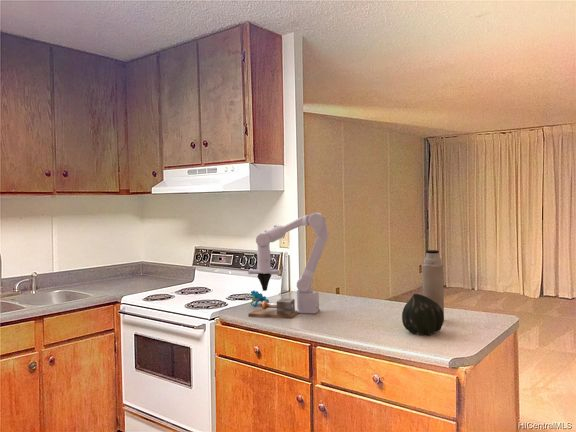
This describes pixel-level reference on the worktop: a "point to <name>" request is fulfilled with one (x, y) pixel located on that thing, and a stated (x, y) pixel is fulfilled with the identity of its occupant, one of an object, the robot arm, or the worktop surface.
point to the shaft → (269, 305)
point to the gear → (258, 297)
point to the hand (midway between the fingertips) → (264, 290)
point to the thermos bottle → (433, 278)
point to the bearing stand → (282, 310)
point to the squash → (422, 315)
